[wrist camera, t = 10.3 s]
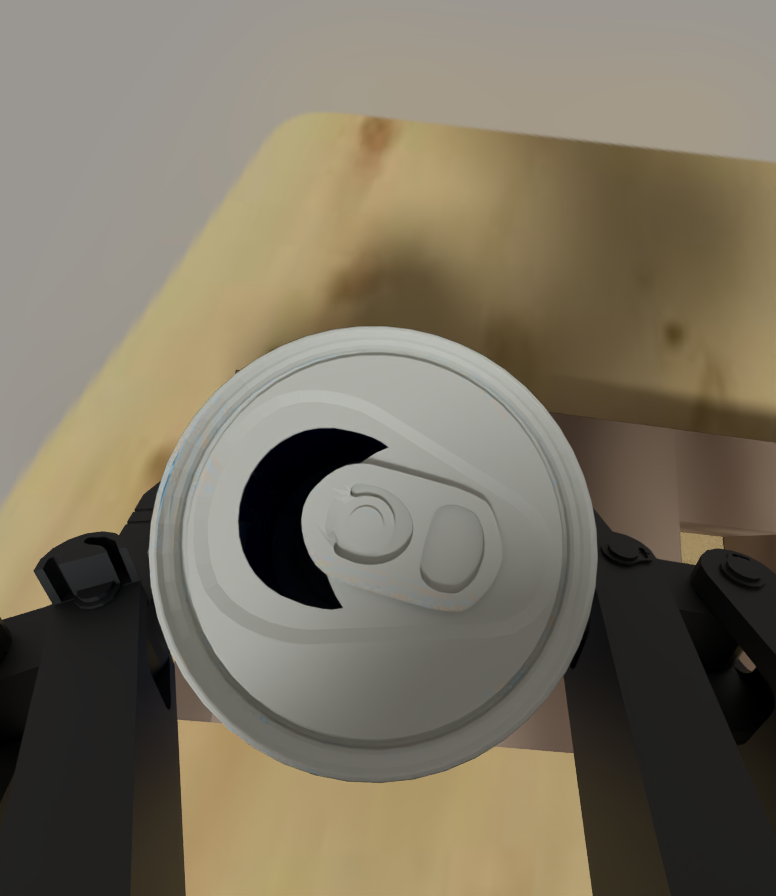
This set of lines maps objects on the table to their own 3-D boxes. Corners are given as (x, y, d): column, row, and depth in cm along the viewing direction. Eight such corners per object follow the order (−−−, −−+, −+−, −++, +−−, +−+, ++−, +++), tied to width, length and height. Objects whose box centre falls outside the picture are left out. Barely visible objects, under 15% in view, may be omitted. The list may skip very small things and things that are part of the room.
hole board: (789, 467, 21) (859, 453, 18) (823, 745, 18) (914, 782, 15) (252, 397, 20) (236, 369, 17) (195, 689, 17) (162, 718, 14)
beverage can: (306, 446, 18) (226, 242, 6) (456, 489, 18) (656, 371, 6) (251, 607, 16) (4, 742, 5) (418, 653, 16) (590, 901, 5)
